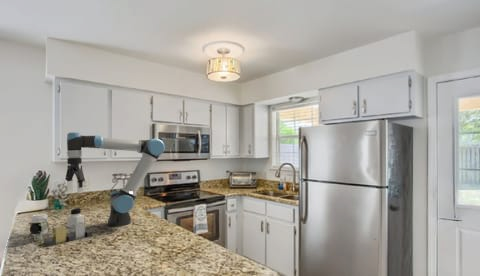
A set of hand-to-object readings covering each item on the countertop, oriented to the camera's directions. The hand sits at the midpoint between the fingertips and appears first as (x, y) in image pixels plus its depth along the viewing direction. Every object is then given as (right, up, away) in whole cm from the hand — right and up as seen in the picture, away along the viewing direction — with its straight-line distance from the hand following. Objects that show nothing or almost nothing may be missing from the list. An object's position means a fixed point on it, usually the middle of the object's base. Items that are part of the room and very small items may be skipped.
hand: (74, 192), depth 169 cm
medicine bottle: (-11, -27, +19) cm, 35 cm away
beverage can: (-23, -27, +2) cm, 36 cm away
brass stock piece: (0, -25, -14) cm, 29 cm away
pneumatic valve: (-15, -26, -9) cm, 32 cm away
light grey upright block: (+6, -25, -6) cm, 27 cm away
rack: (+3, -26, -10) cm, 28 cm away
